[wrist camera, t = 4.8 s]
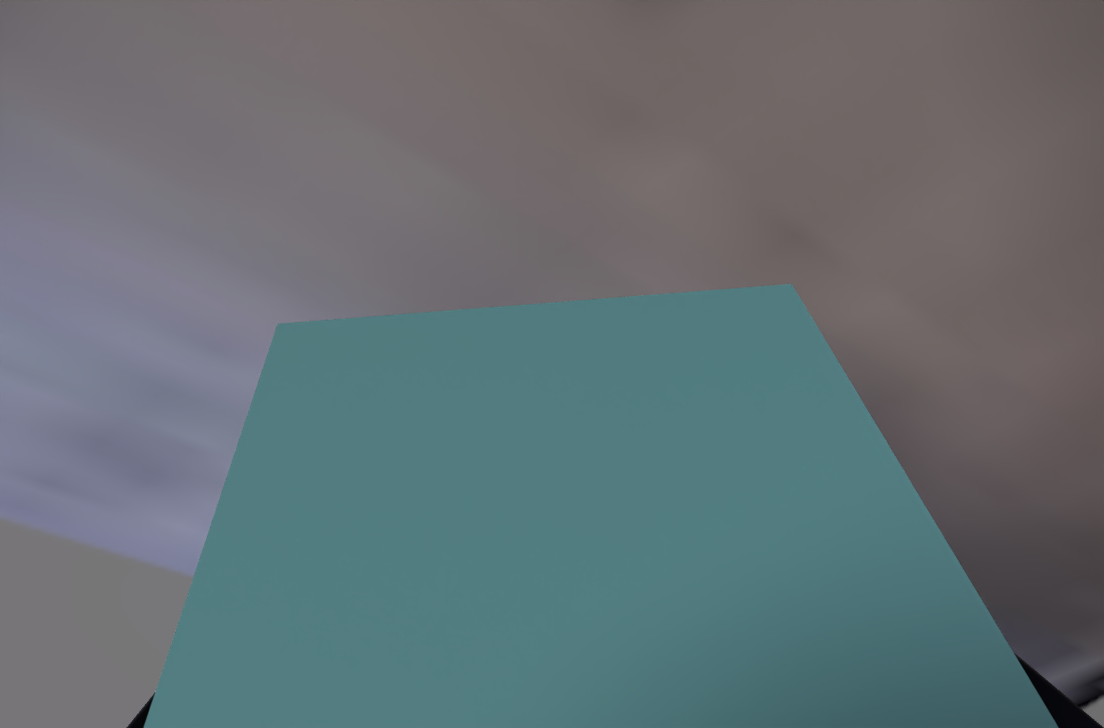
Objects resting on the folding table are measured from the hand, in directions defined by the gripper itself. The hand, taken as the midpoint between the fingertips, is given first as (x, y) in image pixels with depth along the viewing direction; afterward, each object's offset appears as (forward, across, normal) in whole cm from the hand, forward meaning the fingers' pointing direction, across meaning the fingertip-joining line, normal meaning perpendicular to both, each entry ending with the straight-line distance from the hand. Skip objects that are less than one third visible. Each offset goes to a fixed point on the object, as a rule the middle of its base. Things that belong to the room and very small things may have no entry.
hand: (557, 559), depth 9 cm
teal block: (+1, 0, 0) cm, 1 cm away
